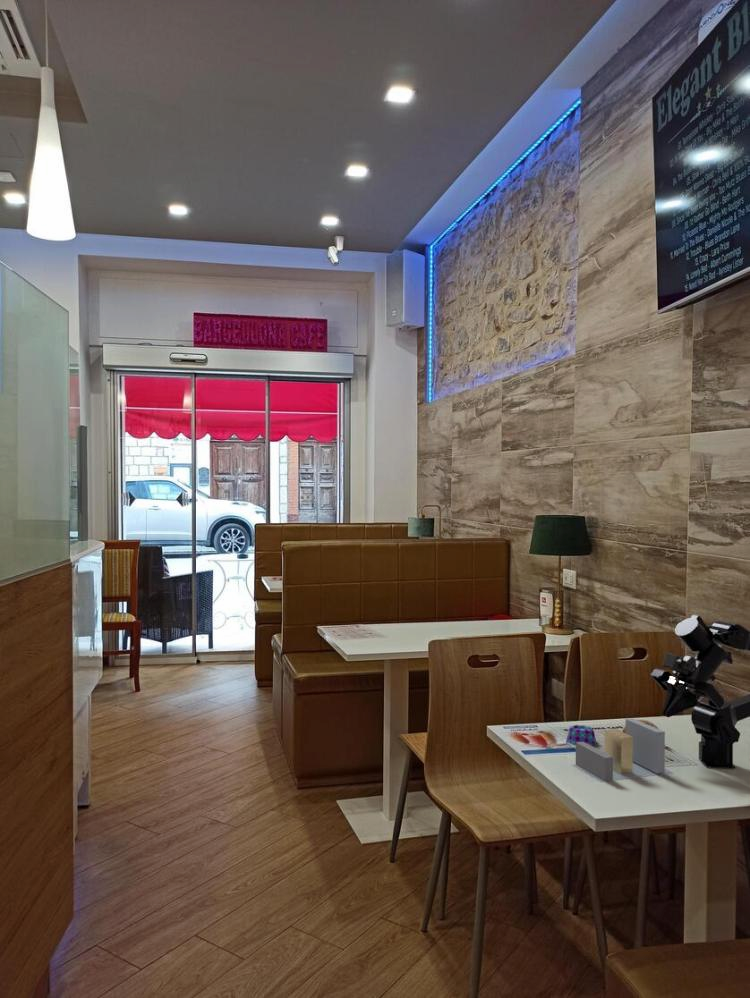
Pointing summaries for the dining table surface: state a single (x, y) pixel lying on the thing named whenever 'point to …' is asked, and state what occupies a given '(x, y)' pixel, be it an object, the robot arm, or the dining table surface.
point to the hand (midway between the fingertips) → (664, 715)
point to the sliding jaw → (647, 745)
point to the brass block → (620, 750)
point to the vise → (605, 765)
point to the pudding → (580, 735)
